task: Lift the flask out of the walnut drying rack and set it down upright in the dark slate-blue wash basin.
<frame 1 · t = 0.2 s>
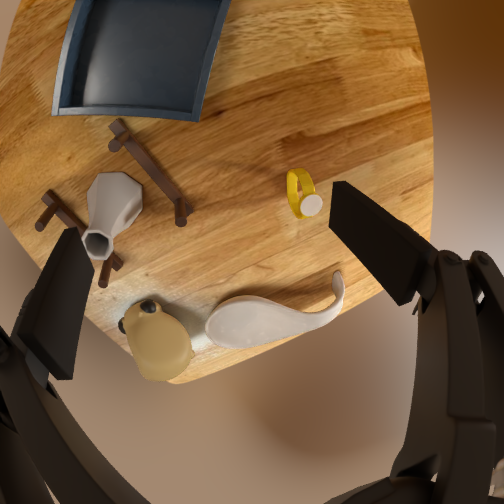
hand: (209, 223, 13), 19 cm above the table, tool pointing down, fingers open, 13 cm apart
watch: (290, 184, 34), on the table
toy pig: (154, 318, 41), on the table
drying rack: (114, 199, 29), on the table
spoon rest: (272, 298, 45), on the table
flask: (114, 199, 29), resting in drying rack
basin: (141, 46, 20), on the table
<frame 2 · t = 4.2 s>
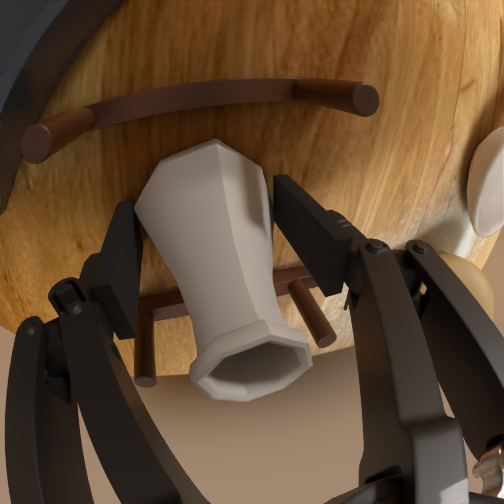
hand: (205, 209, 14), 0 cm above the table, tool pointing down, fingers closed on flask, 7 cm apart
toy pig: (407, 275, 24), on the table
drying rack: (204, 207, 15), on the table
spoon rest: (495, 120, 16), on the table
flask: (204, 205, 15), resting in drying rack, touching gripper
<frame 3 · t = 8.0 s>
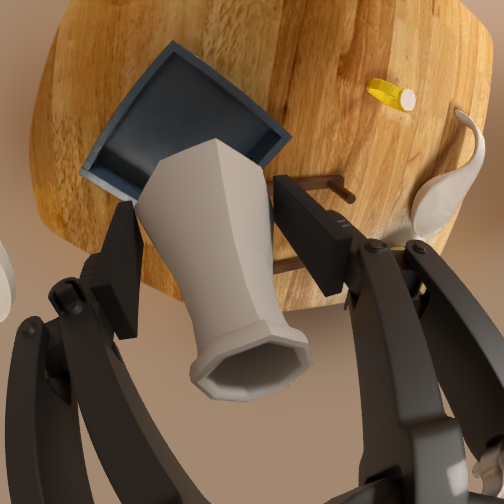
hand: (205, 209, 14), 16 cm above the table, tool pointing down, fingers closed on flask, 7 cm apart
watch: (374, 92, 28), on the table
drying rack: (289, 226, 36), on the table
spoon rest: (436, 169, 38), on the table
flask: (205, 206, 15), point 16 cm above the table, touching gripper
basin: (182, 139, 26), on the table
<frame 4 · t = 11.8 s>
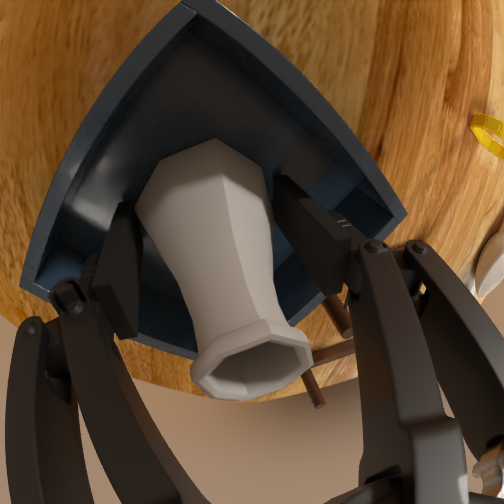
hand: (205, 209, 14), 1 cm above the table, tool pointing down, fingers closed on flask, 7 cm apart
watch: (474, 128, 17), on the table
drying rack: (352, 310, 25), on the table
spoon rest: (503, 217, 26), on the table
flask: (205, 205, 15), resting in basin, touching gripper
basin: (206, 202, 15), on the table
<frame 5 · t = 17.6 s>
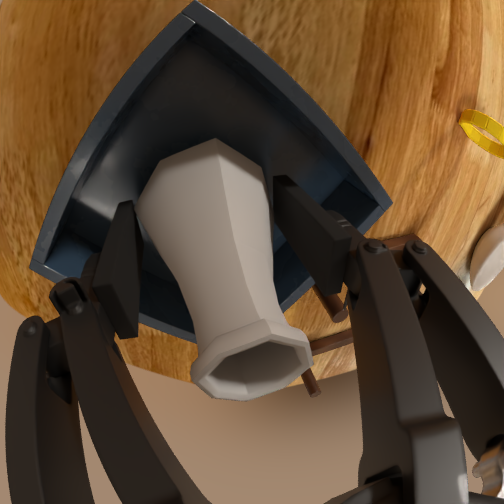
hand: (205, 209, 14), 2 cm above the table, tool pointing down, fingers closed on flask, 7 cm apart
watch: (463, 124, 18), on the table
drying rack: (346, 300, 26), on the table
spoon rest: (497, 213, 27), on the table
flask: (205, 205, 15), point 2 cm above the table, touching gripper
basin: (204, 192, 16), on the table
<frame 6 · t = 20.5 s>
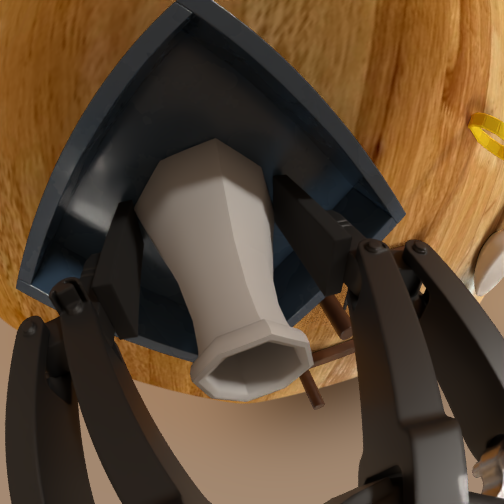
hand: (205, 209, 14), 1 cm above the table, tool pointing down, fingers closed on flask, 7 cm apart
watch: (472, 128, 17), on the table
drying rack: (350, 310, 25), on the table
spoon rest: (502, 216, 26), on the table
flask: (205, 205, 15), resting in basin, touching gripper
basin: (203, 203, 15), on the table
when the fingers open (3 cm above the table, at t = 23.0 s): flask drops 2 cm, resting on basin.
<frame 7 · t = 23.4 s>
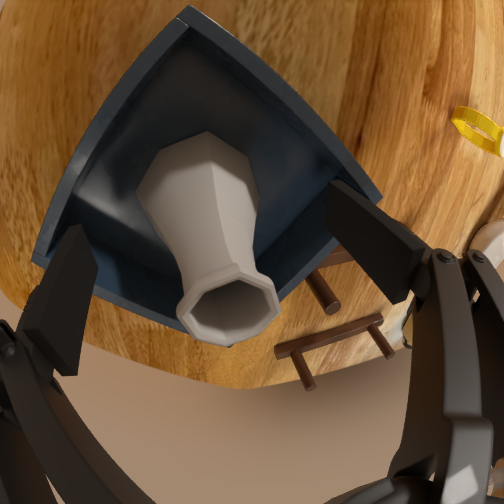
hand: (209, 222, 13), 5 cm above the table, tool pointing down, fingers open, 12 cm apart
watch: (456, 121, 19), on the table
drying rack: (340, 295, 27), on the table
spoon rest: (493, 209, 28), on the table
flask: (198, 191, 16), resting on basin
basin: (200, 188, 17), on the table
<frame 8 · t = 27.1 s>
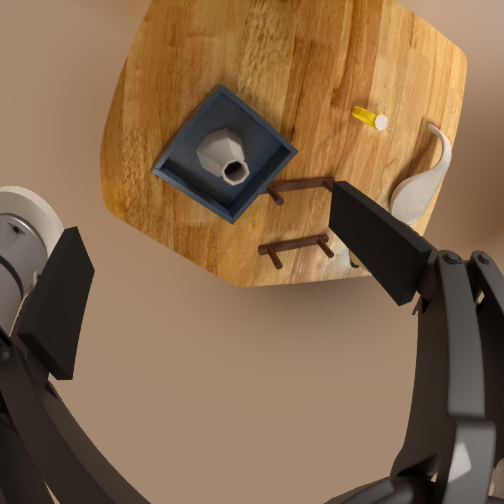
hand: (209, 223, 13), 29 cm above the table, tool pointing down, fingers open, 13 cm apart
watch: (358, 115, 41), on the table
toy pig: (365, 243, 58), on the table
drying rack: (294, 214, 49), on the table
spoon rest: (411, 172, 50), on the table
flask: (221, 151, 39), resting on basin
basin: (221, 151, 39), on the table
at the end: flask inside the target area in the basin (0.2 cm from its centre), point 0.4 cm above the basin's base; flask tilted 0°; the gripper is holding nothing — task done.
